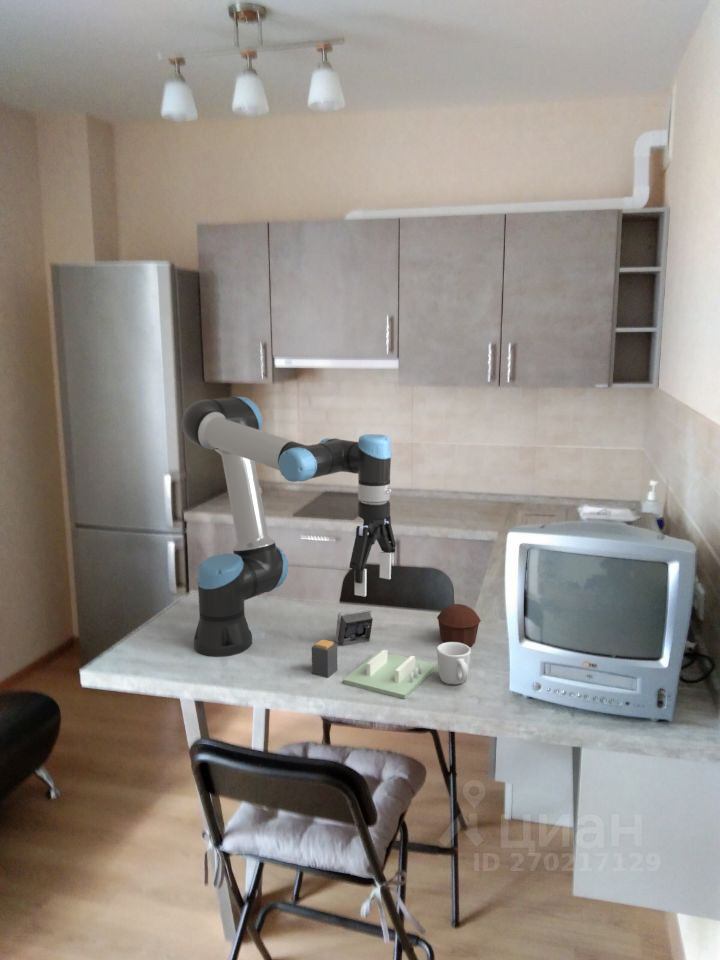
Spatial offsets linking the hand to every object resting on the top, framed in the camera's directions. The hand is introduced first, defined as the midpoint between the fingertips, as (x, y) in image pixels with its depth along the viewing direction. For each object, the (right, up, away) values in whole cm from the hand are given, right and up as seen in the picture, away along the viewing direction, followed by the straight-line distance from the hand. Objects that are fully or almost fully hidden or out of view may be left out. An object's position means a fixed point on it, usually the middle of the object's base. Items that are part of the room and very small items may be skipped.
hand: (373, 586), depth 181 cm
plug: (-12, -21, +2) cm, 24 cm away
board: (+4, -21, 0) cm, 22 cm away
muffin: (+23, -18, +19) cm, 34 cm away
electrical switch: (-4, -18, +19) cm, 26 cm away
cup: (+19, -22, -4) cm, 30 cm away
